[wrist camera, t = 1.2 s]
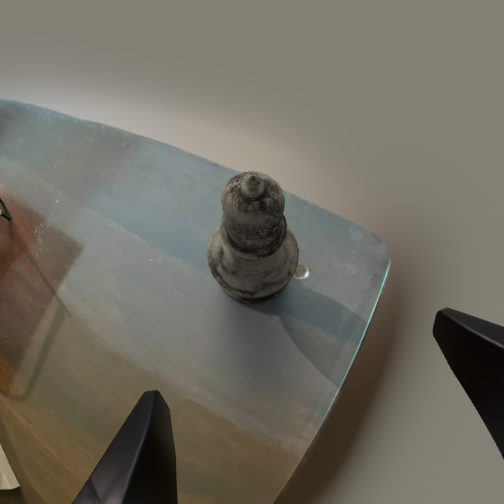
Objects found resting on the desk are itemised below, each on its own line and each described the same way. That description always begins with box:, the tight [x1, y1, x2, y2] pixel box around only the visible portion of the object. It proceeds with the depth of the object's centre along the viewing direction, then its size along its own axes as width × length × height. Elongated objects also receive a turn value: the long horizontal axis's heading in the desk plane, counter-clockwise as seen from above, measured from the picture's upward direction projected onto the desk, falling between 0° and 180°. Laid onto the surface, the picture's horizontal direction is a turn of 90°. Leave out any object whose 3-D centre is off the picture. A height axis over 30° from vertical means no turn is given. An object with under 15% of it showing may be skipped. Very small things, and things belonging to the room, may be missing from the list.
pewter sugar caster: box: [207, 171, 299, 304], centre depth 17 cm, size 6×6×12 cm
